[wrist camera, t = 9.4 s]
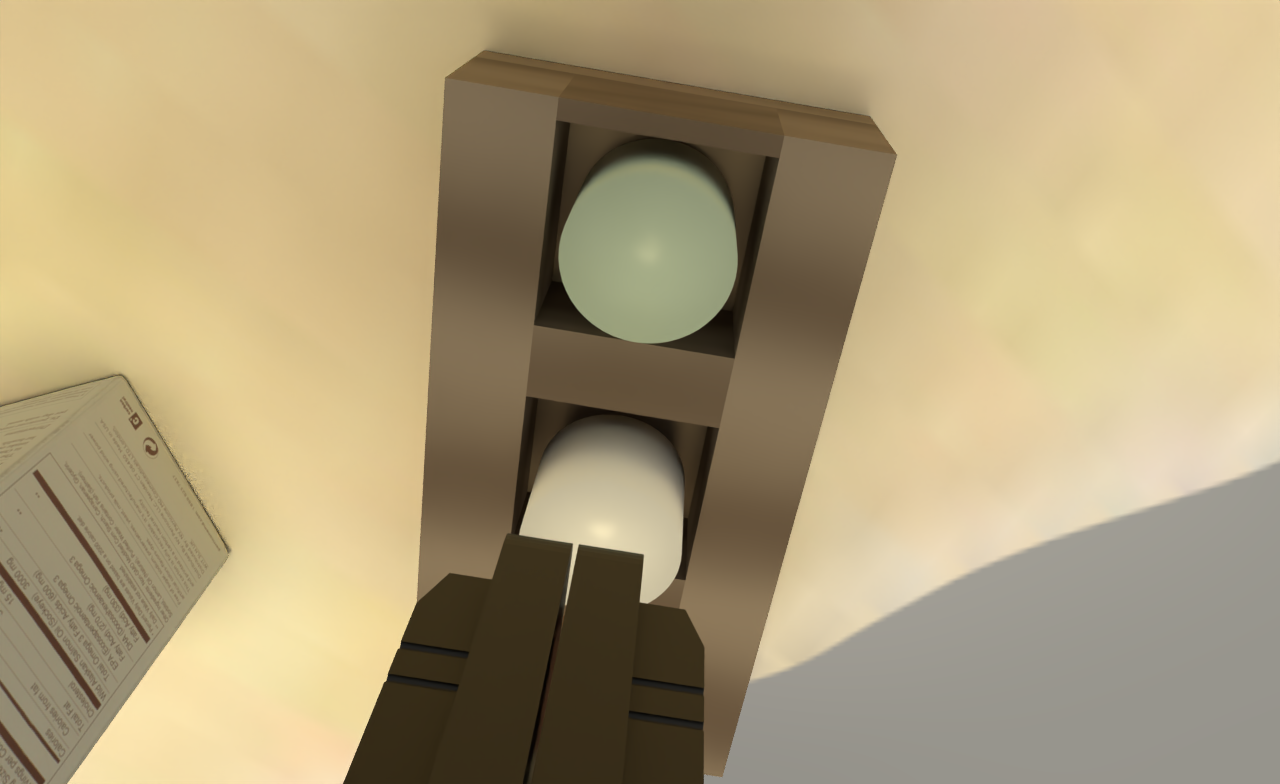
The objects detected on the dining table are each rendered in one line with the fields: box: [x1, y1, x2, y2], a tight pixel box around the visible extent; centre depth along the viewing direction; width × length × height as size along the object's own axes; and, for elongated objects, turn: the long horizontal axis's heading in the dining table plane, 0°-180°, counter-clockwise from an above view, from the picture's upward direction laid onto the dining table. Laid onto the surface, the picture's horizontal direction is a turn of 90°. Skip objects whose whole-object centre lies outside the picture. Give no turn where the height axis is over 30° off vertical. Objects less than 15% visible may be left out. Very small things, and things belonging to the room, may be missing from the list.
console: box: [417, 51, 897, 777], centre depth 27 cm, size 20×10×4 cm, turn 171°
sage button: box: [558, 139, 738, 343], centre depth 23 cm, size 4×4×3 cm
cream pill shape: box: [519, 415, 685, 605], centre depth 25 cm, size 4×4×3 cm
